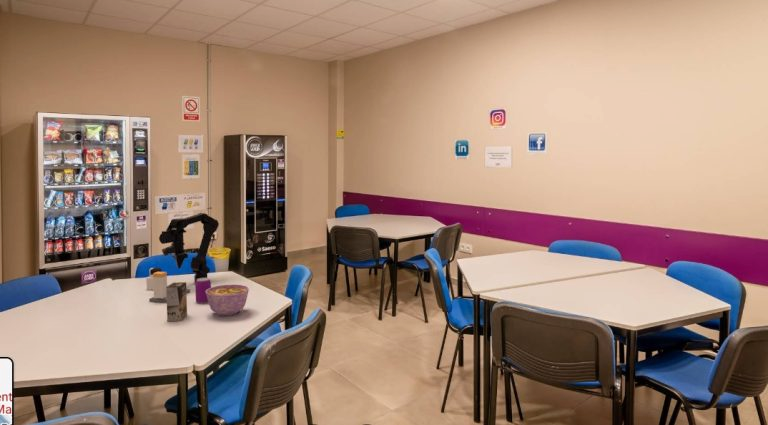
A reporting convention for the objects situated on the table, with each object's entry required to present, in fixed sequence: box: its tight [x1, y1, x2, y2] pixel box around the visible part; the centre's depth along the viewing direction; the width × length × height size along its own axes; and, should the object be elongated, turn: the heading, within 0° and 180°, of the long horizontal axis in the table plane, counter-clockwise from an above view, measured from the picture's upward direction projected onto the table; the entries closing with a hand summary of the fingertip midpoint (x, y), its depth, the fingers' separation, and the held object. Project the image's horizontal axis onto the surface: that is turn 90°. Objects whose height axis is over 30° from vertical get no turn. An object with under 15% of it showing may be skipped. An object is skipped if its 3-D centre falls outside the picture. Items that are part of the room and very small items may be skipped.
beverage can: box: [194, 277, 212, 304], centre depth 253 cm, size 8×8×12 cm
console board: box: [148, 288, 191, 304], centre depth 261 cm, size 21×10×2 cm, turn 170°
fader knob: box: [153, 271, 168, 299], centre depth 252 cm, size 4×5×13 cm
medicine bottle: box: [145, 266, 162, 291], centre depth 276 cm, size 7×7×12 cm
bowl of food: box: [205, 284, 250, 317], centre depth 235 cm, size 20×20×12 cm
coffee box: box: [166, 281, 188, 322], centre depth 226 cm, size 9×6×16 cm
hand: (179, 268), depth 275 cm, fingers closed
